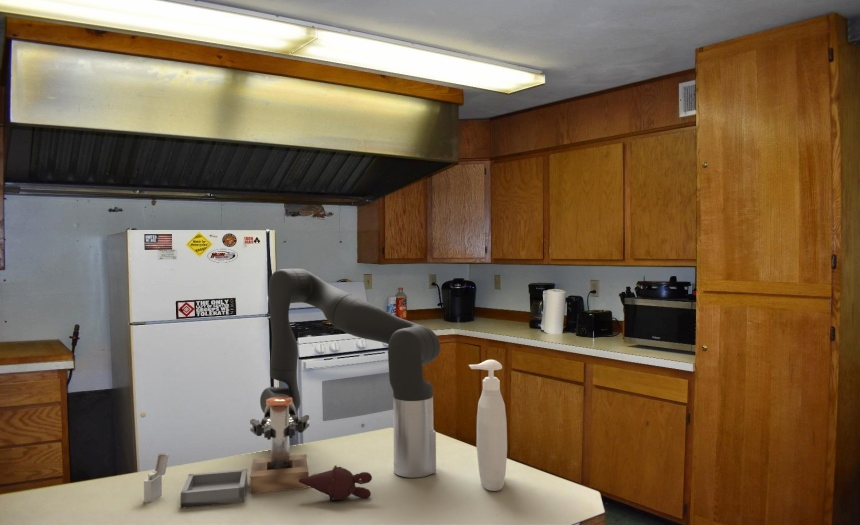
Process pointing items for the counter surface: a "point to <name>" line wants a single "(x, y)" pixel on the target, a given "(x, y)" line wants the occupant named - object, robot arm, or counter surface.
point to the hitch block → (278, 475)
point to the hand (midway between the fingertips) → (279, 434)
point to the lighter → (155, 479)
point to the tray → (214, 488)
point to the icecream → (339, 483)
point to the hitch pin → (279, 431)
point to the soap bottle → (491, 429)
